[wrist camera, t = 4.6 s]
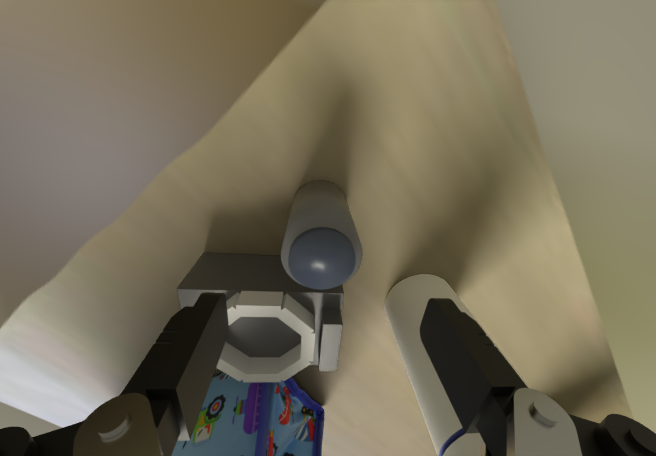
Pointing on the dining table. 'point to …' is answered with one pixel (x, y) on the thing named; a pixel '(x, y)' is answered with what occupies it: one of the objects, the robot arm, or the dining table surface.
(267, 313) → the camera body
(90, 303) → the dining table surface
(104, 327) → the dining table surface
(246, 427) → the lunch bag
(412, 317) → the cylindrical container
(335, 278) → the lens
